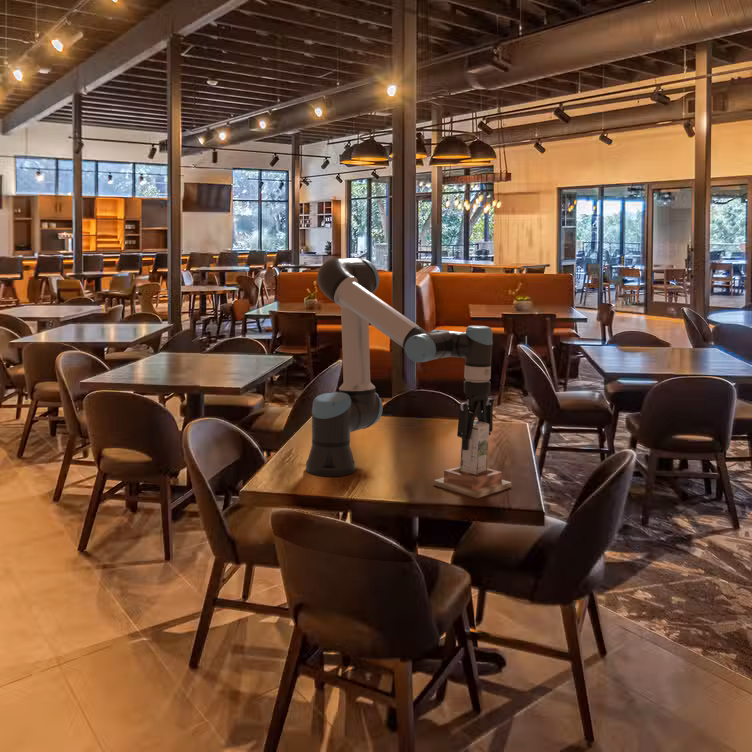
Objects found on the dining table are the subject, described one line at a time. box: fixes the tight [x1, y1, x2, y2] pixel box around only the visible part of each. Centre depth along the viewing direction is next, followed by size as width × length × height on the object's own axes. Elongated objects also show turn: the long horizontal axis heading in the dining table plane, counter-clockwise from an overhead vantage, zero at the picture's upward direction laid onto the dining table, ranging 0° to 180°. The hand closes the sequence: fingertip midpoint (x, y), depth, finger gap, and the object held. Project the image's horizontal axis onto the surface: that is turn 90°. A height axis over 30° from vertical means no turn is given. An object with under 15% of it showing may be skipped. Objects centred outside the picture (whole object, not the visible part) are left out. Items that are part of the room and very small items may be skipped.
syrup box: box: [459, 420, 490, 474], centre depth 231 cm, size 6×6×14 cm
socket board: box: [433, 465, 512, 499], centre depth 233 cm, size 16×16×4 cm
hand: (474, 458), depth 232 cm, fingers closed on syrup box, 6 cm apart
